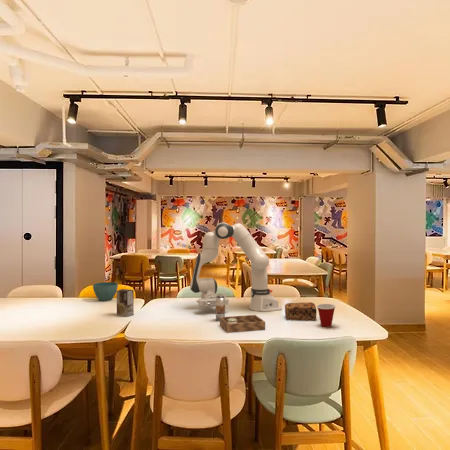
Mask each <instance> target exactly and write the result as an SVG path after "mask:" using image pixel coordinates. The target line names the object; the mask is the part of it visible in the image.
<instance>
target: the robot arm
mask: <svg viewBox="0 0 450 450" xmlns="http://www.w3.org/2000/svg"><path fill="white" fill-rule="evenodd" d="M229 238H233V240H234V241H235V242H236V244H237V245H238V246H239V248H240V249H241V250H242V252H243V253H244V255H245V256H246V257H247V259H248V260H249V261H250V273H251V288H250V296H251V297H250V303H249V308H248V309H249V310H250V311H255V312H262V313H266V312H274V311H280V310H281V311H282V309H283V307H282V306H280V304H279V301H278V299H277V298H276V297H275V296H273V295H272V294H271V293H273V291H274V290H273V289H271V288H268V281H269V280H268V279H269V277H268V269H267V268H268V266H269V264H270V259H269V257H268V255H267V254H266V252H264V250H263V249H262V247H261V246H260V245H259V244H258V242H257V241H256V240H255V239H254V237H253V235H252V234H251V233H250V231H249V230H248V229H247V228H246V227H245V226H244V225H243V224H242V223H235V224H233V225H230V224H229V223H227V222H220V223H218V224H217V225H216V226H215V228H214V230H213V231H209V232H205V234H204V235H203V241H202V250H201V252H200V254H198V255H197V256H196V260H195V264H194V267H193V273H192V277H191V280H190V284H189V289H190V291H192V292H193V293H194V294H196V293H200V298H198V299H197V300H196V303H198V304H197V305H198V306H199V307H210V308H212V307H216V297H217V296H219V295H222V296H224V297H225V306H227V305H229V302H230V301H229V298H228V297H226V296H225V295H224V294H218V283H217V281H216V279H215V278H213V277H200V273H201V270H202V266H203V265H205V264H207V263H209V262H212V261H214V260H215V259H217V258H218V255H219V249H220V246H219V245H220V241H221V240H226V239H229Z"/></svg>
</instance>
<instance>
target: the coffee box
mask: <svg viewBox="0 0 450 450" xmlns="http://www.w3.org/2000/svg"><path fill="white" fill-rule="evenodd" d="M134 305H135V304H134V289H124V288H122V289H117V291H116V316H118V315H119V316H120V317H126V316H128V317H131V316H134V312H135V311H134ZM119 316H118V317H119Z"/></svg>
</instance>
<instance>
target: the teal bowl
mask: <svg viewBox="0 0 450 450" xmlns="http://www.w3.org/2000/svg"><path fill="white" fill-rule="evenodd" d="M118 286H119V284H118V282H113V281H105V282H98V283H93V284H92V288H93V292H94V295H95V296H96V298H97V299H98V300H99V301H100V302H108V301H112V299H114V297H115V295H117V291H118Z"/></svg>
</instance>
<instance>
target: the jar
mask: <svg viewBox="0 0 450 450" xmlns="http://www.w3.org/2000/svg"><path fill="white" fill-rule="evenodd" d="M233 323H237V319H235V318H229V319H228V324H233Z"/></svg>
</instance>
